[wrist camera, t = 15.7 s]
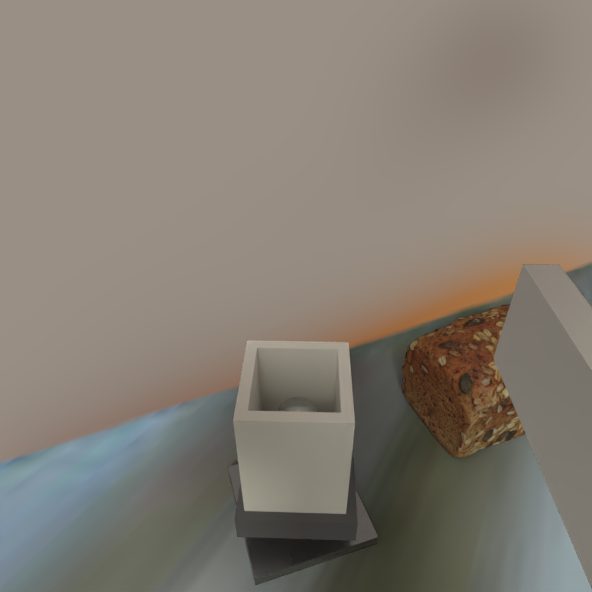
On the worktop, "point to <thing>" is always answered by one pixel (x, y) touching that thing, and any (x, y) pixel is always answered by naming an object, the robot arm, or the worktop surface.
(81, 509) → the worktop surface
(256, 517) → the dark grey square slab
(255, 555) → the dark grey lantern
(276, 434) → the sleeve
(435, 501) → the worktop surface
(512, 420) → the bread
